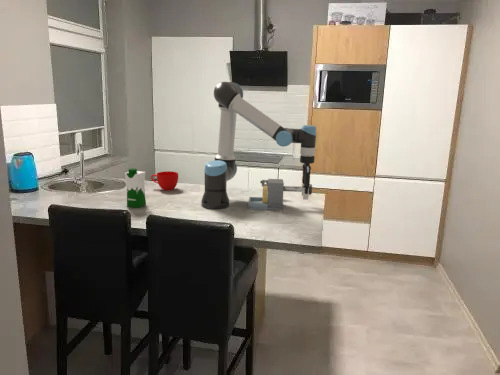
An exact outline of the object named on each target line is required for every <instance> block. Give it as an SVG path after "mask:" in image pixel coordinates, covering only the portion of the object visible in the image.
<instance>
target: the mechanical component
mask: <svg viewBox="0 0 500 375" xmlns="http://www.w3.org/2000/svg"><path fill="white" fill-rule="evenodd" d="M260 184H261V187H262V188H263V186H268V179H262V180H260Z"/></svg>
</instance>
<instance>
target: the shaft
mask: <svg viewBox="0 0 500 375" xmlns="http://www.w3.org/2000/svg"><path fill="white" fill-rule="evenodd" d="M303 190H304V188H303V187H302V186H295V185H292V186H291V185H284V189H283V192H293V193H295V192H297V193H300V192H301V193H302V192H303ZM312 191H313V185H312V184H311V183H310V187H309V196H311V195H312V193H313V192H312Z"/></svg>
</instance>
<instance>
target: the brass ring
mask: <svg viewBox="0 0 500 375" xmlns="http://www.w3.org/2000/svg"><path fill="white" fill-rule="evenodd" d="M261 197H262V203H266V204H267V197H268V186H263V187H262V196H261Z"/></svg>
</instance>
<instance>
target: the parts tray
mask: <svg viewBox="0 0 500 375" xmlns="http://www.w3.org/2000/svg"><path fill="white" fill-rule="evenodd" d="M262 197H263V196H249V198H248V209H249V210H267V209H268V204H266V203H262Z"/></svg>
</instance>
